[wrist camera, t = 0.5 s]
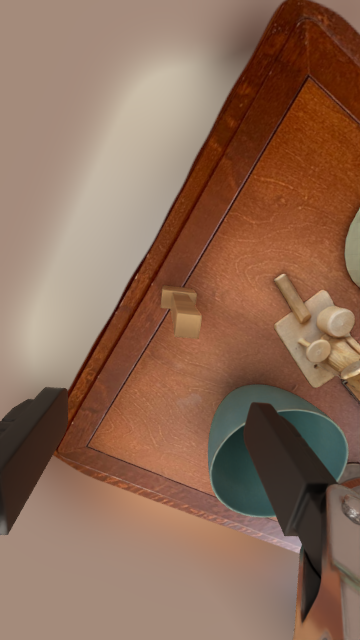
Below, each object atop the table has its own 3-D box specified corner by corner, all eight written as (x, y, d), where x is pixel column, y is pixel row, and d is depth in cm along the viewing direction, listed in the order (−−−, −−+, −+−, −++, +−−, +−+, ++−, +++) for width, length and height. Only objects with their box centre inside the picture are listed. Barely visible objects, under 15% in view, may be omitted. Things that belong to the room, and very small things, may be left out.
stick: (162, 284, 32) (161, 309, 16) (192, 288, 32) (218, 314, 17) (161, 300, 32) (158, 337, 17) (190, 303, 33) (213, 342, 17)
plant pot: (252, 458, 42) (286, 534, 31) (176, 420, 39) (182, 491, 27) (312, 390, 39) (376, 447, 27) (236, 342, 35) (272, 384, 23)
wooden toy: (360, 358, 38) (465, 410, 25) (310, 388, 39) (384, 454, 26) (310, 252, 32) (411, 248, 19) (252, 292, 33) (310, 314, 20)
